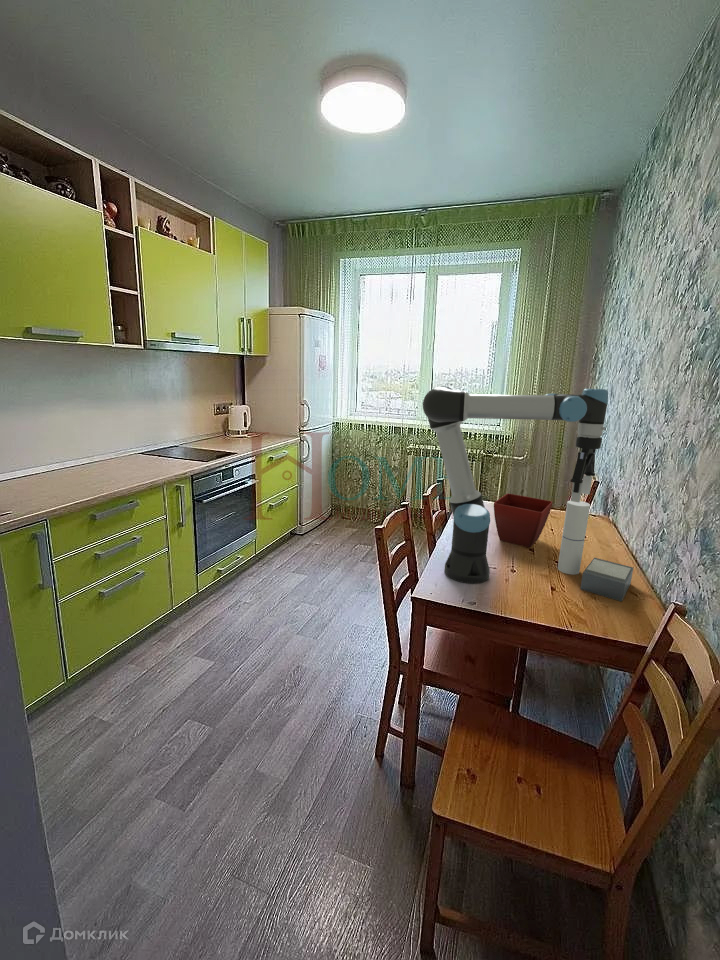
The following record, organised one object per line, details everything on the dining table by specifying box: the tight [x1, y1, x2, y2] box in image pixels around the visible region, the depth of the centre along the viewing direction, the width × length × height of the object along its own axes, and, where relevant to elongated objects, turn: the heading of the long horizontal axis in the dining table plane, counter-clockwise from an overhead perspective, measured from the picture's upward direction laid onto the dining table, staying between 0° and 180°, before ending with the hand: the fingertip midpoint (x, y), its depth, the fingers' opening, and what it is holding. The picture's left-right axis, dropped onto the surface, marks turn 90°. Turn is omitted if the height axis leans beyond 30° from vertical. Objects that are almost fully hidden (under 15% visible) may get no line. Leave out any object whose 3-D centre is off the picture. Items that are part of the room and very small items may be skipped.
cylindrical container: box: [557, 499, 591, 576], centre depth 156 cm, size 7×7×25 cm
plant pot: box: [493, 493, 553, 548], centre depth 184 cm, size 19×19×17 cm
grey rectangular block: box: [579, 557, 634, 603], centre depth 146 cm, size 16×12×6 cm
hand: (580, 497), depth 152 cm, fingers open, 13 cm apart
